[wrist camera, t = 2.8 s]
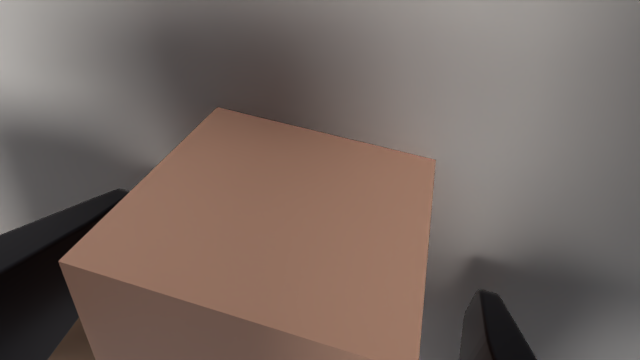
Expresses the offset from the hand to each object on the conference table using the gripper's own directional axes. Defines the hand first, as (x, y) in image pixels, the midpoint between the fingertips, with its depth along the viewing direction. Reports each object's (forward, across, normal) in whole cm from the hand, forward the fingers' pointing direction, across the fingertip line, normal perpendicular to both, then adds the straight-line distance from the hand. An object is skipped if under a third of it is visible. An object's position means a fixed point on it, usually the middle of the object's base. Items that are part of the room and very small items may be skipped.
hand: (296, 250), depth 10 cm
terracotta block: (+1, 0, 0) cm, 1 cm away
